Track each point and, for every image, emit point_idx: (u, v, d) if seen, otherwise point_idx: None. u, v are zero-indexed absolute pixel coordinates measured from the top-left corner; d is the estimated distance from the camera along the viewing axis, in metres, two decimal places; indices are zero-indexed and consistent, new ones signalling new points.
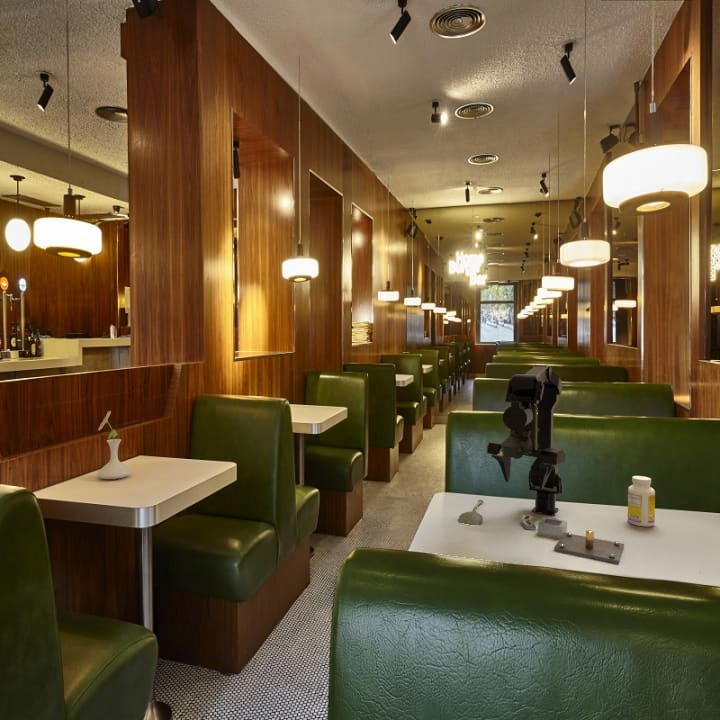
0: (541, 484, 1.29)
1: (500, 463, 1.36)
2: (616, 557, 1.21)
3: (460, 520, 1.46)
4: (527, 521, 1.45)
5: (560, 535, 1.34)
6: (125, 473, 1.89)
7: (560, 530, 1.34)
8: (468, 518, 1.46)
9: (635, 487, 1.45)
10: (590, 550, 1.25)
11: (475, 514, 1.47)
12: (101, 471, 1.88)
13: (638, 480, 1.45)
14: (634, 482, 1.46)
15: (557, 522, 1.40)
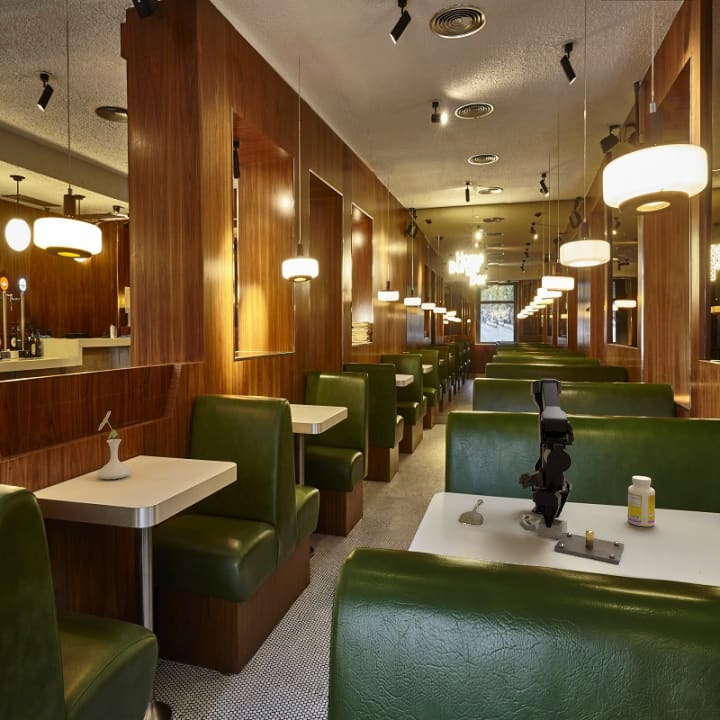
0: None
1: None
2: (616, 557, 1.21)
3: (461, 520, 1.47)
4: (527, 521, 1.45)
5: (560, 535, 1.34)
6: (125, 473, 1.89)
7: (560, 530, 1.34)
8: (469, 518, 1.46)
9: (635, 487, 1.45)
10: (590, 550, 1.25)
11: (476, 514, 1.47)
12: (101, 471, 1.88)
13: (638, 480, 1.45)
14: (634, 482, 1.46)
15: (557, 522, 1.40)
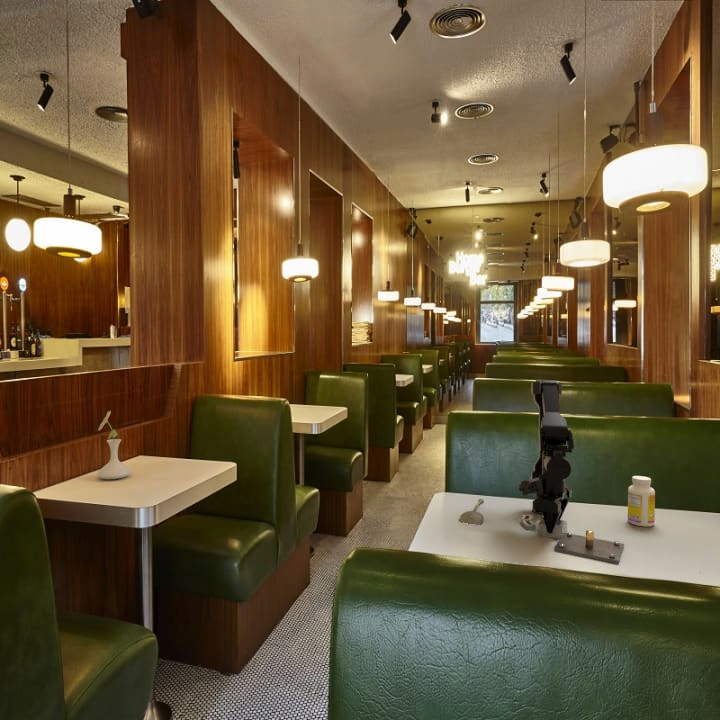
0: None
1: None
2: (616, 557, 1.21)
3: (461, 519, 1.47)
4: (527, 521, 1.45)
5: (560, 535, 1.34)
6: (125, 473, 1.89)
7: (560, 530, 1.34)
8: (469, 518, 1.46)
9: (635, 487, 1.45)
10: (590, 550, 1.25)
11: (476, 513, 1.48)
12: (101, 471, 1.88)
13: (638, 480, 1.45)
14: (634, 482, 1.46)
15: (557, 522, 1.40)
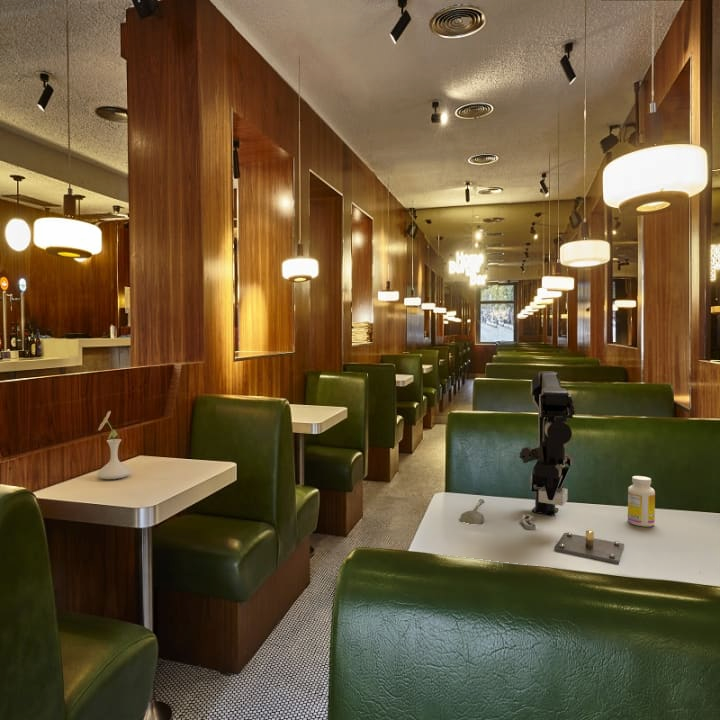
0: None
1: None
2: (616, 557, 1.21)
3: (462, 519, 1.47)
4: (527, 521, 1.45)
5: (561, 502, 1.34)
6: (125, 473, 1.89)
7: (561, 497, 1.34)
8: (470, 517, 1.46)
9: (635, 487, 1.45)
10: (590, 550, 1.25)
11: (476, 513, 1.48)
12: (101, 471, 1.88)
13: (638, 480, 1.45)
14: (634, 482, 1.46)
15: (557, 490, 1.39)
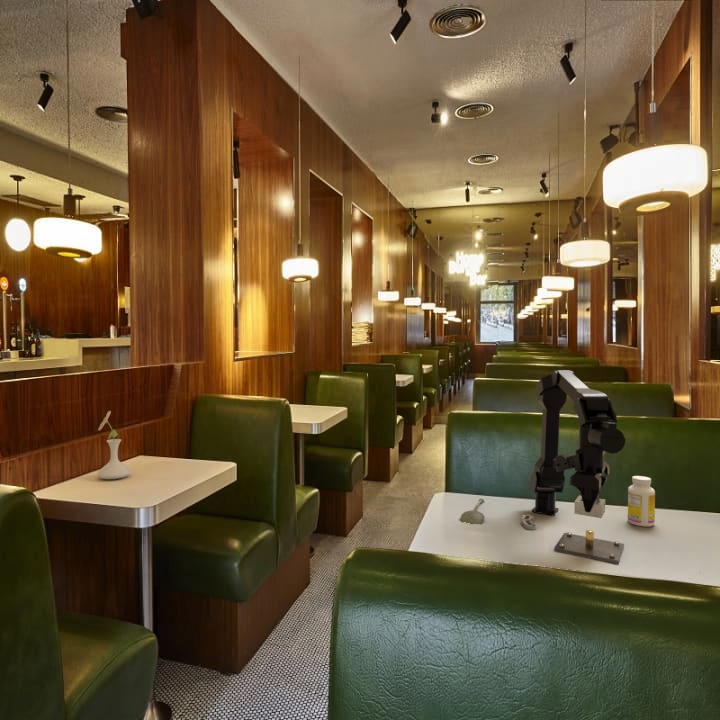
0: (584, 506, 1.25)
1: None
2: (616, 557, 1.21)
3: (462, 519, 1.47)
4: (527, 521, 1.45)
5: (599, 514, 1.24)
6: (125, 473, 1.89)
7: (599, 508, 1.24)
8: (470, 517, 1.46)
9: (635, 487, 1.45)
10: (590, 550, 1.25)
11: (477, 513, 1.48)
12: (101, 471, 1.88)
13: (638, 480, 1.45)
14: (634, 482, 1.46)
15: None
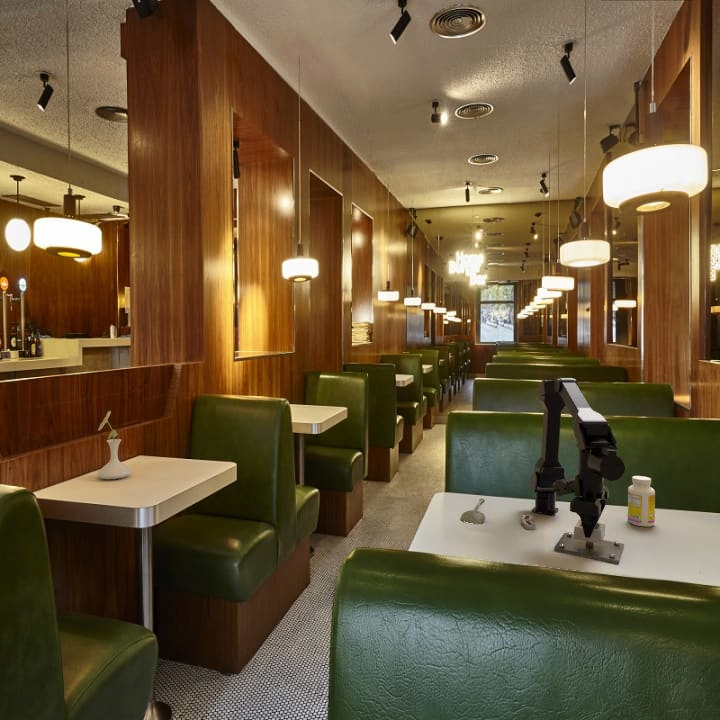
0: None
1: None
2: (616, 557, 1.21)
3: (463, 519, 1.48)
4: (527, 521, 1.45)
5: (599, 540, 1.24)
6: (125, 473, 1.89)
7: (599, 534, 1.24)
8: (471, 517, 1.47)
9: (635, 487, 1.45)
10: (590, 550, 1.25)
11: (477, 513, 1.48)
12: (101, 471, 1.88)
13: (638, 480, 1.45)
14: (634, 482, 1.46)
15: None
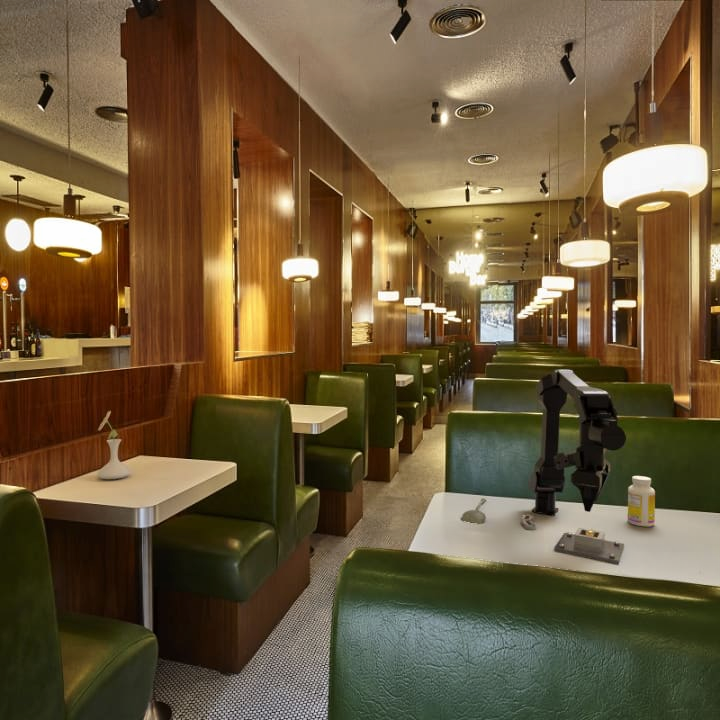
0: None
1: None
2: (616, 557, 1.21)
3: (463, 518, 1.48)
4: (527, 521, 1.45)
5: (599, 548, 1.24)
6: (125, 473, 1.89)
7: (599, 542, 1.24)
8: (471, 517, 1.47)
9: (635, 487, 1.45)
10: (590, 550, 1.25)
11: (478, 512, 1.48)
12: (101, 471, 1.88)
13: (638, 480, 1.45)
14: (634, 482, 1.46)
15: (594, 533, 1.29)
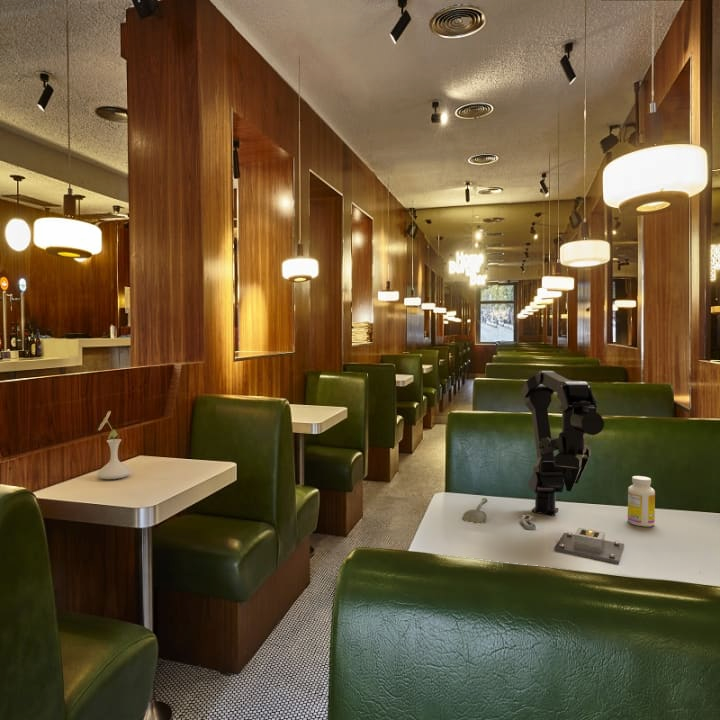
0: (565, 485, 1.35)
1: None
2: (616, 557, 1.21)
3: (464, 518, 1.48)
4: (527, 521, 1.45)
5: (599, 548, 1.24)
6: (125, 473, 1.89)
7: (599, 542, 1.24)
8: (472, 516, 1.47)
9: (635, 487, 1.45)
10: (590, 550, 1.25)
11: (479, 512, 1.49)
12: (101, 471, 1.88)
13: (638, 480, 1.45)
14: (634, 482, 1.46)
15: (594, 533, 1.29)
